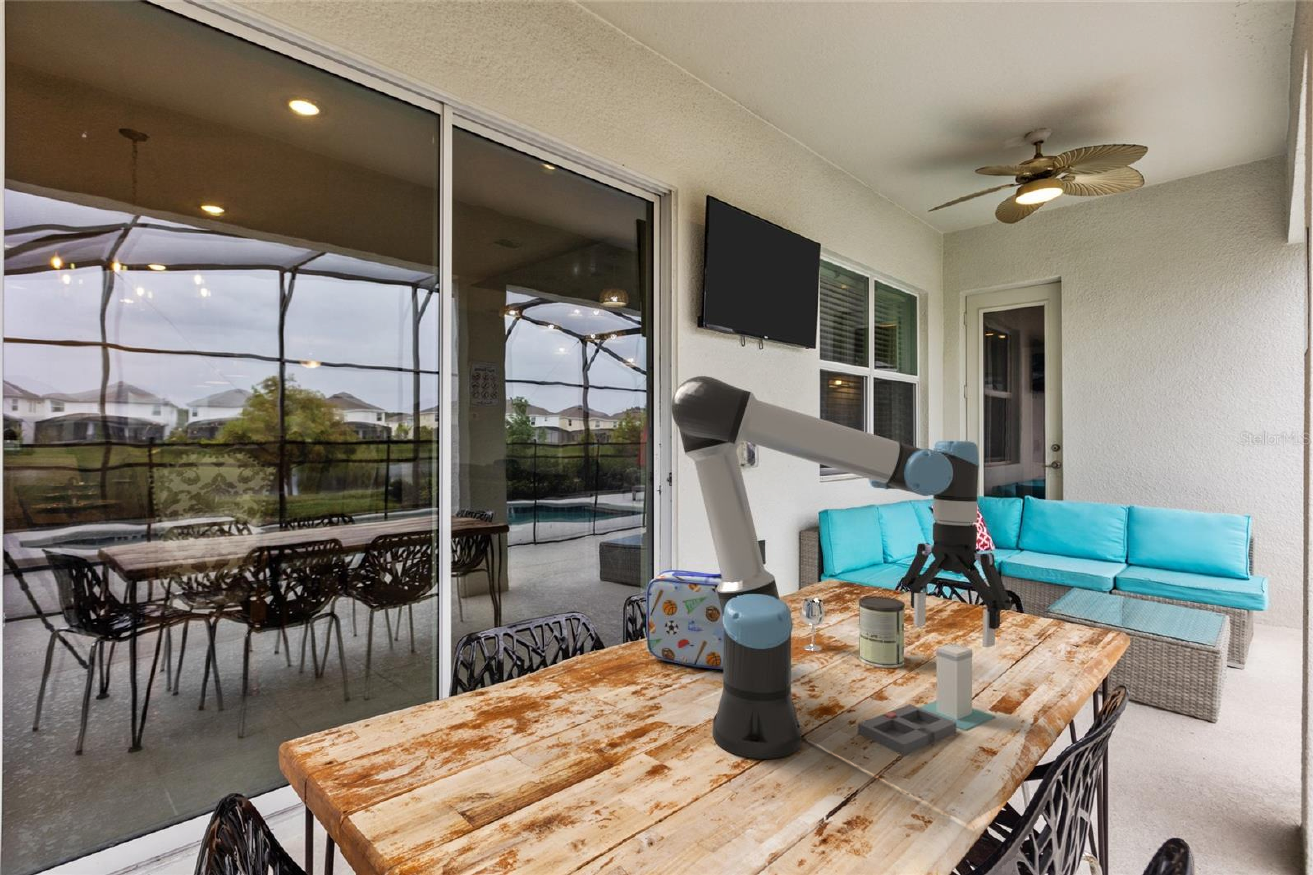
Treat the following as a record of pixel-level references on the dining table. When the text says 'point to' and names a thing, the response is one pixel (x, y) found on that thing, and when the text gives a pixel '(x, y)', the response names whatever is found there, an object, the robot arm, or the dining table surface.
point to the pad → (964, 722)
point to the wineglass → (812, 618)
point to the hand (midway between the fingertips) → (952, 635)
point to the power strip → (907, 729)
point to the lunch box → (685, 619)
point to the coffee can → (881, 632)
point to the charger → (954, 680)
